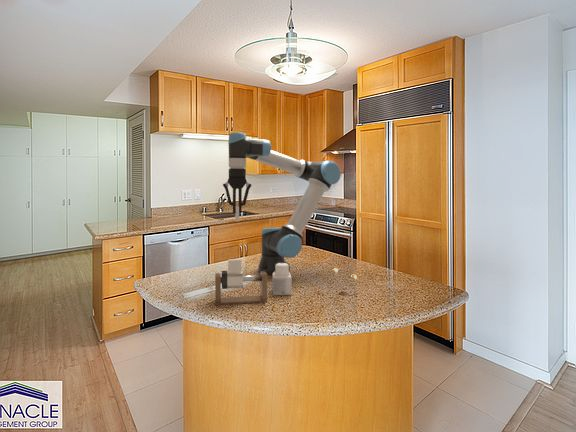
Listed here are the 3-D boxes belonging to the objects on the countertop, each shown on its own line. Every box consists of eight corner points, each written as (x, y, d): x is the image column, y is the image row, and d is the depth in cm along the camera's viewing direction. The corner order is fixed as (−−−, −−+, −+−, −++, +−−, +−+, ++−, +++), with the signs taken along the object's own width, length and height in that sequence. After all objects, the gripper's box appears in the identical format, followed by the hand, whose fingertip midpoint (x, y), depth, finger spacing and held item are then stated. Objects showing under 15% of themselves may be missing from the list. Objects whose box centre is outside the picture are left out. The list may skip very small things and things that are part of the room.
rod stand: (264, 296, 142) (265, 270, 141) (267, 302, 136) (267, 274, 135) (215, 299, 138) (215, 272, 137) (215, 305, 132) (215, 277, 131)
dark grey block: (226, 284, 138) (226, 270, 137) (227, 288, 132) (227, 274, 132) (221, 284, 137) (221, 270, 137) (222, 288, 132) (222, 274, 131)
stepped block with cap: (241, 283, 139) (241, 257, 138) (243, 287, 134) (243, 261, 133) (226, 284, 138) (226, 258, 137) (227, 288, 132) (227, 261, 131)
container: (272, 289, 152) (272, 260, 151) (289, 289, 153) (290, 260, 151) (273, 295, 144) (273, 264, 143) (291, 294, 145) (291, 264, 144)
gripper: (250, 168, 159) (250, 219, 161) (222, 168, 156) (222, 219, 158) (252, 168, 151) (252, 221, 154) (222, 167, 149) (222, 221, 151)
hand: (237, 220), depth 156 cm, fingers closed
